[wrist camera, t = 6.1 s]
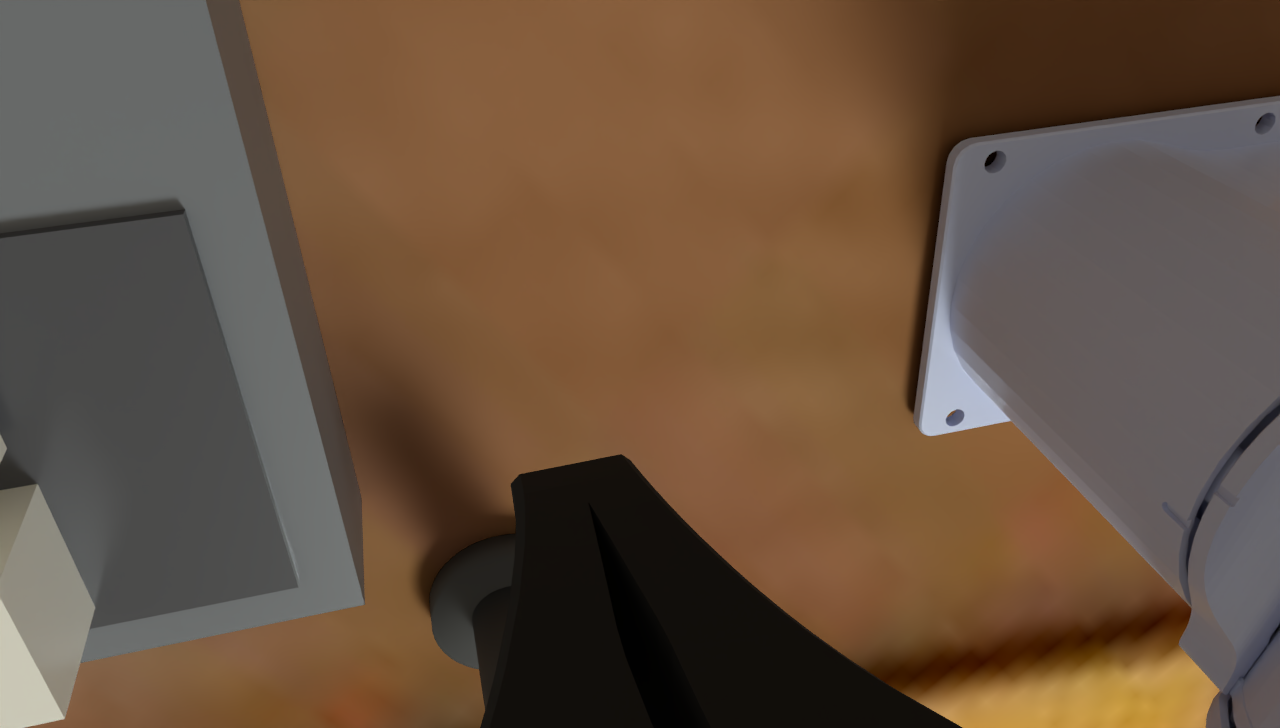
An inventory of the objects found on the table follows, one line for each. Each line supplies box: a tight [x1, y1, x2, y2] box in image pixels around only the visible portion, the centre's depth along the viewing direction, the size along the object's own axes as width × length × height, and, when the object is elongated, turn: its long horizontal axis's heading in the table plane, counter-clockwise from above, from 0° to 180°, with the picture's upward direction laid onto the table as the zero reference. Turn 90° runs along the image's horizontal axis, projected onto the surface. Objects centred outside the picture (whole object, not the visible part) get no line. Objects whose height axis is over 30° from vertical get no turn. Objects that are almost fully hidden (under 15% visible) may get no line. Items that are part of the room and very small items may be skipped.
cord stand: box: [429, 534, 516, 710], centre depth 24 cm, size 4×4×7 cm
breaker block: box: [0, 0, 365, 728], centre depth 17 cm, size 7×14×6 cm, turn 2°
